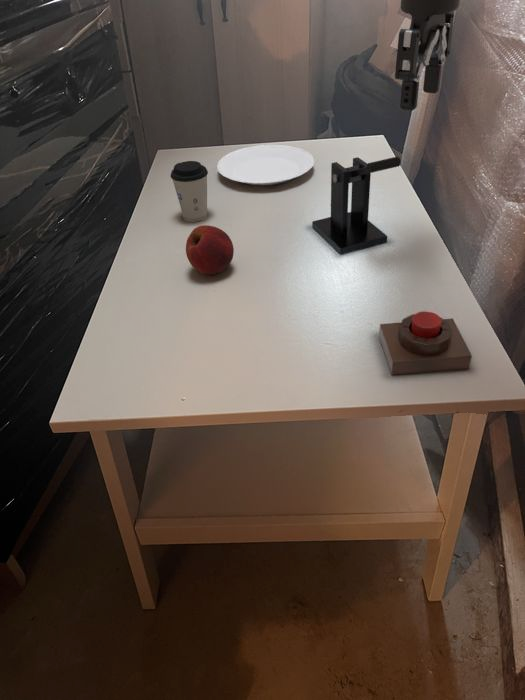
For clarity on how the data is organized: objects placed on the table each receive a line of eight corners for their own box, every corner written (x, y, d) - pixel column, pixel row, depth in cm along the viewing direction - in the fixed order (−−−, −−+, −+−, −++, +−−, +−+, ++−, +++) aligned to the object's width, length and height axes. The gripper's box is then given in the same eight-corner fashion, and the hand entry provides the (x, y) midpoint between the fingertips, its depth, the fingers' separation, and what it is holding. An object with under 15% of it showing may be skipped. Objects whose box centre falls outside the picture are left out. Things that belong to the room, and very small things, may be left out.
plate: (215, 159, 135) (214, 149, 133) (305, 150, 136) (305, 140, 134) (220, 198, 119) (219, 187, 117) (323, 187, 120) (323, 176, 118)
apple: (185, 264, 99) (177, 221, 94) (229, 254, 101) (224, 212, 96) (194, 286, 94) (187, 242, 89) (240, 276, 95) (236, 232, 90)
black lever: (402, 168, 87) (399, 152, 86) (372, 175, 85) (369, 159, 85) (361, 180, 99) (358, 165, 99) (335, 186, 98) (332, 171, 97)
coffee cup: (217, 208, 115) (211, 158, 109) (208, 225, 110) (201, 174, 103) (183, 207, 116) (175, 158, 110) (172, 224, 111) (163, 173, 105)
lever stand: (387, 242, 101) (393, 170, 93) (340, 254, 99) (342, 182, 91) (355, 216, 109) (358, 148, 101) (312, 227, 107) (311, 158, 99)
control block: (450, 330, 81) (454, 307, 79) (469, 368, 75) (474, 344, 72) (378, 336, 81) (380, 313, 79) (391, 375, 75) (393, 351, 72)
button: (435, 321, 77) (437, 310, 76) (443, 337, 74) (445, 326, 73) (408, 323, 77) (409, 312, 76) (415, 340, 74) (416, 329, 73)
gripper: (442, -23, 69) (426, 119, 79) (480, -40, 78) (462, 89, 88) (382, -24, 72) (375, 112, 82) (426, -40, 81) (414, 84, 91)
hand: (419, 100), depth 85 cm, fingers open, 8 cm apart
